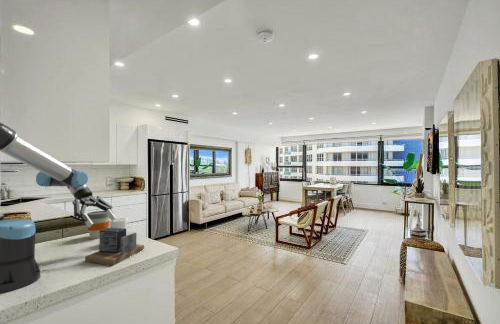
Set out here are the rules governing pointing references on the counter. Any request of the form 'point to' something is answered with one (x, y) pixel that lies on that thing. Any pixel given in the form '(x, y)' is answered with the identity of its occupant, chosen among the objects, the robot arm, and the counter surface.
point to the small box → (111, 240)
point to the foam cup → (119, 223)
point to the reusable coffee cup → (98, 223)
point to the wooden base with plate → (127, 250)
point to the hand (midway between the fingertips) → (103, 222)
